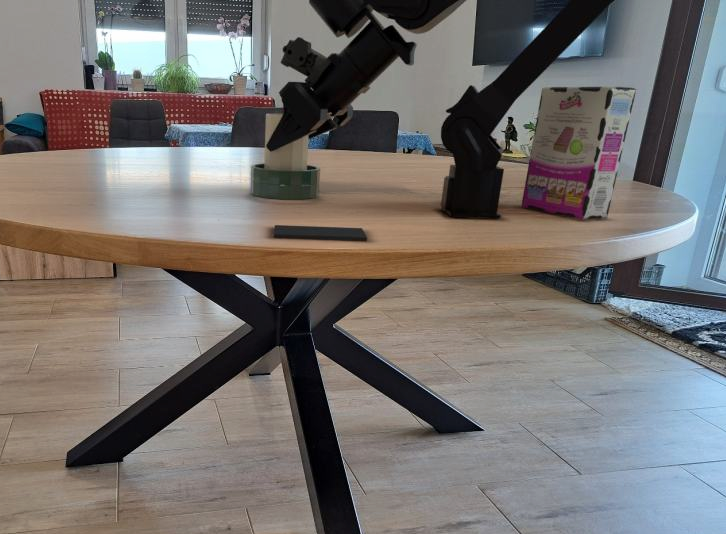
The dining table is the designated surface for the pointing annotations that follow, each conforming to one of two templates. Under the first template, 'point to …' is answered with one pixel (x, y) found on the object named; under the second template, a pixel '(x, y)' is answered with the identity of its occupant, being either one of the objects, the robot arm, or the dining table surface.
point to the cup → (285, 150)
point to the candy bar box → (577, 150)
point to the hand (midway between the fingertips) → (277, 147)
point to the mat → (319, 233)
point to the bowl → (285, 183)
